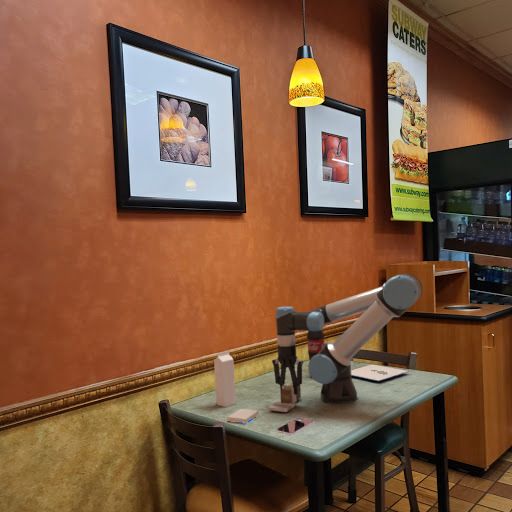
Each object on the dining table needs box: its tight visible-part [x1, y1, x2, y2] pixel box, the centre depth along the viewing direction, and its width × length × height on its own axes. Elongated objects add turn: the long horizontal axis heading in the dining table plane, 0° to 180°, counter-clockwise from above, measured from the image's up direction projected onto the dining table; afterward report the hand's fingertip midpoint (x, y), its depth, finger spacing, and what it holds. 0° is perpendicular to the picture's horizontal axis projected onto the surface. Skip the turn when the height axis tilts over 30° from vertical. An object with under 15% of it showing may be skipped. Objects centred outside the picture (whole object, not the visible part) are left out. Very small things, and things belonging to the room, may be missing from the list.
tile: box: [226, 408, 260, 423], centre depth 179 cm, size 8×2×10 cm
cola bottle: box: [306, 329, 325, 377], centre depth 234 cm, size 8×8×30 cm
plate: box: [351, 364, 409, 382], centre depth 230 cm, size 22×22×2 cm
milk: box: [213, 350, 237, 408], centre depth 198 cm, size 6×6×22 cm
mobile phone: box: [275, 417, 315, 436], centre depth 167 cm, size 8×1×15 cm
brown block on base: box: [267, 382, 302, 413], centre depth 191 cm, size 19×8×6 cm, turn 151°
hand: (289, 401), depth 193 cm, fingers closed on brown block on base, 3 cm apart
